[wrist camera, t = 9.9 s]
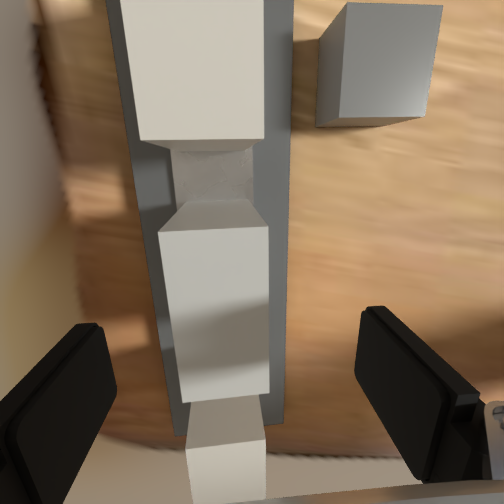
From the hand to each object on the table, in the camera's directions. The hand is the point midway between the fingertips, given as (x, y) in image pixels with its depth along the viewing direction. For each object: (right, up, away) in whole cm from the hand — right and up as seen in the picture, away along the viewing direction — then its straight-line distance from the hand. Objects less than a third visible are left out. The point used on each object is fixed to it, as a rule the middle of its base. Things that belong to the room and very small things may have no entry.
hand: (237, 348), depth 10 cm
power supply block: (+7, +15, +8) cm, 18 cm away
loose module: (-2, +3, +9) cm, 9 cm away
